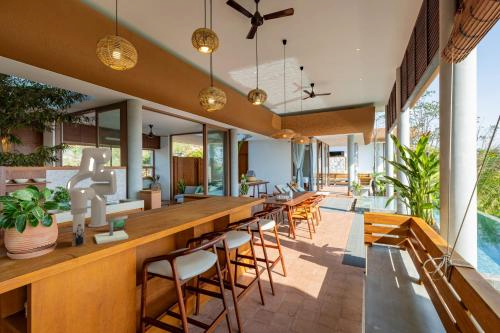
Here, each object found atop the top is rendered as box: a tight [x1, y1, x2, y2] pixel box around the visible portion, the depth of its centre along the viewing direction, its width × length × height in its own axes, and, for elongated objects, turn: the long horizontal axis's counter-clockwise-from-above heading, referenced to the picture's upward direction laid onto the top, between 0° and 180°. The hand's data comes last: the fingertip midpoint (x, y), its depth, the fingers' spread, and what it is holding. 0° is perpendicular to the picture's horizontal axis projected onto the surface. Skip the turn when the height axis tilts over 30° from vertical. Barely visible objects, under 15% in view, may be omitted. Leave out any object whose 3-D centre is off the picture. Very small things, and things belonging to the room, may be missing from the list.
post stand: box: [94, 222, 129, 245], centre depth 142 cm, size 16×16×10 cm
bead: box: [71, 230, 87, 248], centre depth 131 cm, size 6×6×6 cm
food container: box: [107, 215, 129, 232], centre depth 157 cm, size 12×6×10 cm, turn 101°
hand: (79, 242), depth 131 cm, fingers closed on bead, 6 cm apart
